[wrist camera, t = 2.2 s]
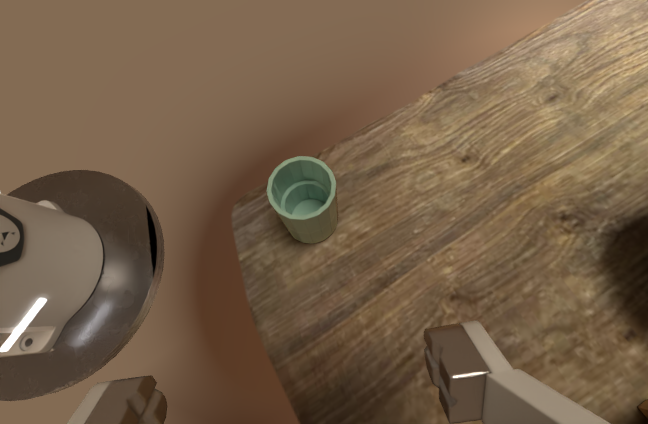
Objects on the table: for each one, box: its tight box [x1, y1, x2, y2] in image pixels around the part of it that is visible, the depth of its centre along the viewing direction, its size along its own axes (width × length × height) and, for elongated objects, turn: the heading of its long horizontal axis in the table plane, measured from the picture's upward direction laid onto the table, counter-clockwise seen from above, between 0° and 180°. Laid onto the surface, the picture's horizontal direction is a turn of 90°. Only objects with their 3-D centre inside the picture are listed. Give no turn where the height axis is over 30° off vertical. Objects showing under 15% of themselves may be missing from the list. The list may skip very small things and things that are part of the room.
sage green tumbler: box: [267, 156, 338, 243], centre depth 31 cm, size 6×6×9 cm
